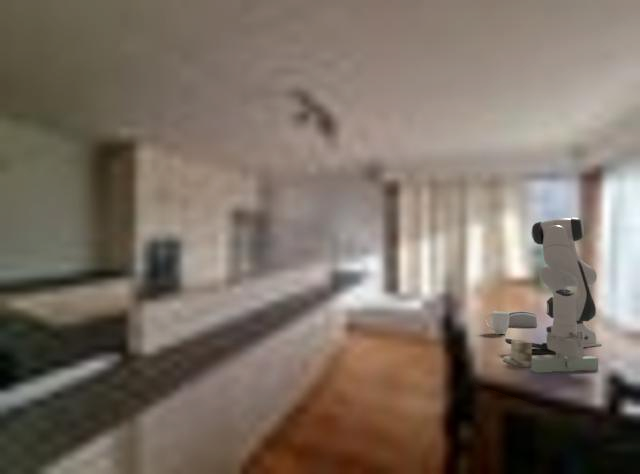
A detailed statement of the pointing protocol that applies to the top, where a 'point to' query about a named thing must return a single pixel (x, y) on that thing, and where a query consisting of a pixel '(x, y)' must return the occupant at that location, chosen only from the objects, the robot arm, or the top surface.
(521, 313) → the grey curved block
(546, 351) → the zipper pull
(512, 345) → the rail posts
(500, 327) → the mug
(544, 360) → the rail
